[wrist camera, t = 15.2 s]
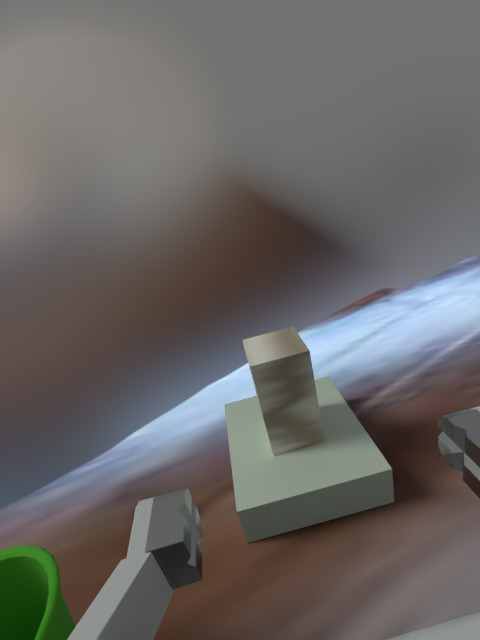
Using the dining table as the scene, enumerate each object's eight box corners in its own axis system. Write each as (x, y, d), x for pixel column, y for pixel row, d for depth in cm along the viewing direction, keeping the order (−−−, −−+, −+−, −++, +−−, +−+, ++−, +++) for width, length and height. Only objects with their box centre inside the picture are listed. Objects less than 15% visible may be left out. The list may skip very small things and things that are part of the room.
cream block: (273, 456, 30) (249, 366, 26) (263, 420, 34) (242, 340, 31) (325, 442, 30) (309, 350, 26) (308, 408, 35) (292, 326, 31)
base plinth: (247, 542, 27) (236, 511, 26) (232, 429, 40) (224, 404, 39) (394, 502, 27) (392, 468, 26) (332, 402, 40) (328, 376, 39)
